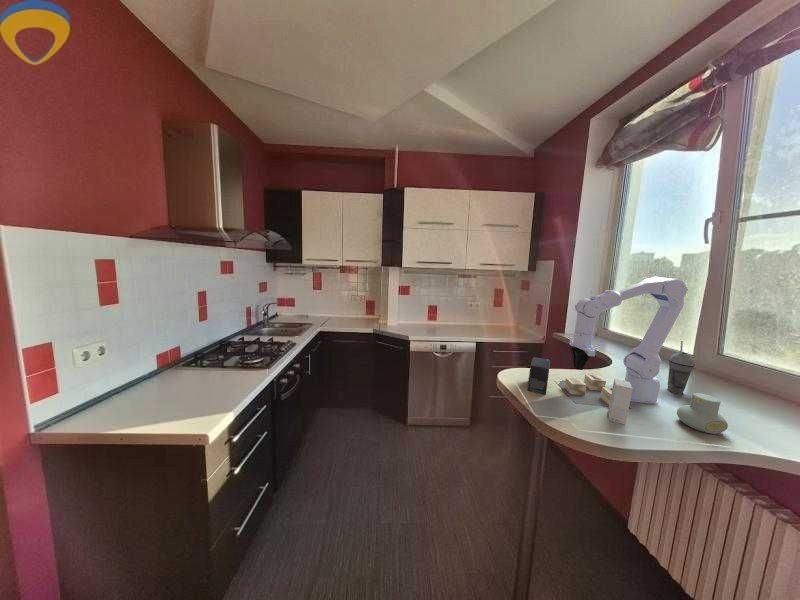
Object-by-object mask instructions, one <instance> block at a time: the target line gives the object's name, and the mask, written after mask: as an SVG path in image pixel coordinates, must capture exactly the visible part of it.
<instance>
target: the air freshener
mask: <svg viewBox="0 0 800 600" xmlns="http://www.w3.org/2000/svg"><path fill="white" fill-rule="evenodd" d="M720 406H721V401H720V400H719V399H718V398H716V397H714V396H712V395H709V394H706V393H701V392H700V393H699V392H694V393H692V396H691V400H690V404H685V405H682V406H679V407H678V408H677V410H676V415H677V418H678V419H679V420H680V421H681V422H682V423H683V424H684V425H686V426H688V427H689V428H691V429H693V430H696V431H699V432H701V433H705V434H714V435H715V434H721V433H723V432H725V431H727V430H728V427H729V425H728V422H727V420H726V419H725V418H724V416H722V415H721V414H720V413H719V410H720Z"/></svg>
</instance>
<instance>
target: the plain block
mask: <svg viewBox="0 0 800 600" xmlns="http://www.w3.org/2000/svg"><path fill="white" fill-rule="evenodd" d="M564 381H565V387H564V388H565V389H566V390H567V391H568V392H569V393H570V394H576V395H585V392H586V386H587V385H586V384H585V383H584V381H583V380H581V379H580V378H572V377H565V380H564Z"/></svg>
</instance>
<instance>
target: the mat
mask: <svg viewBox="0 0 800 600" xmlns="http://www.w3.org/2000/svg"><path fill="white" fill-rule="evenodd" d="M558 387H559V389H561V390H562V392H564V394H565V395H567V396H568V398H569V399H570V400H571V401H572V402H573V403H574V404H577V405H588V406H597V407H606V408H607V407H608V408H609V405H608V404H607V403H606V402H605V401H604V400H603V399H601V398H600V397H601V391H599V390H590V389H589V388H588V387H587V386H586V392H585V395H576V394H570V393H569V392H568V391H567V390H566V389H565V388H564V387H565V380H563V379H562V381H560V383H559V384H558ZM628 410H632V408H631V407H630V406H629V409H628Z"/></svg>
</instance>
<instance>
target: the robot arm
mask: <svg viewBox="0 0 800 600" xmlns="http://www.w3.org/2000/svg"><path fill="white" fill-rule="evenodd" d="M688 289H689V288H688V286H687V285H686V284H685V282H684V281H683V280H682V279H679V278H668V277H660V276H652V277H650V278H645V279H643V280H642V281H640V282H637V283H635V284H632V285H630V286H628V287H625V288H623V289H621V290H618V291H617V290H616V291H615V290H614V289H613V290H609V289H606V290H604V292H603V293H600V294H597V295H590V297H589V298H587V297H586V298H581V299H579V300H578V302H577V303H576V304H575V305H574V309H575V311H576V313H577V315H576V321H575V326H574V327H575V328H574V334H573V338H569V343H568V344H569V345H570V346H571V347H569V350H570V353H571V356H572V363H573V368H575V370H580V371H582V370H583V369H584V368H585V366H586V364H587V362H588V360H589V359H590V358H591V357H595V356H596V350H595V349H594V347H593V346H592V344H593V339H594V333H595V332H594V331H595V326H596V320H597V317H598V316H600V314H601V313H602V312H604V311H607V310H610V309H613V308H615V307H618V306H620V305H621V304H622V301H624V300H625V301H626V300H628V299H631V298H632V299H633V298H635V297H638V296H642V295H645V294H649V295H651V297H653V298H654V299H655V300H656V301H657V302H658V305H659V308H658V309H657V311H656V313H655V315H654V317H653V319H652V321H651V323H650V325H649V327H648V329H646V330H647V331H646V332H645V334H644V335H643V338H642V339H641V342H640V343H639V345H638V346H636V347H633V348H632V349H631V350H630V352H629V353H627V354H626V355H625V356H624V358H623V364H624V367H625V370H626V372H625V377H624V381H628V382H630V383H631V386H632V388H633V389H632V394H631V399H630V402H636V403H645V404H656V405H659V402H658V398H659V393H660V390H661V389H660V388H661V384H660V380H659V378H657V377H656V376H658V375H659V373H660V366H661V363H662V359H661V357H660V355H659V352H660V351H661V349H662V347H663V345H664V343H665V340H667V338H668V335H669V333H670V331H671V330H672V328H673V327H674V325H675V322H676V321H677V318H678V317H679V315H680V313H681V311H682V309H683V307H684V300H685V297H686V294H687V292H688V291H689V290H688Z"/></svg>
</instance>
